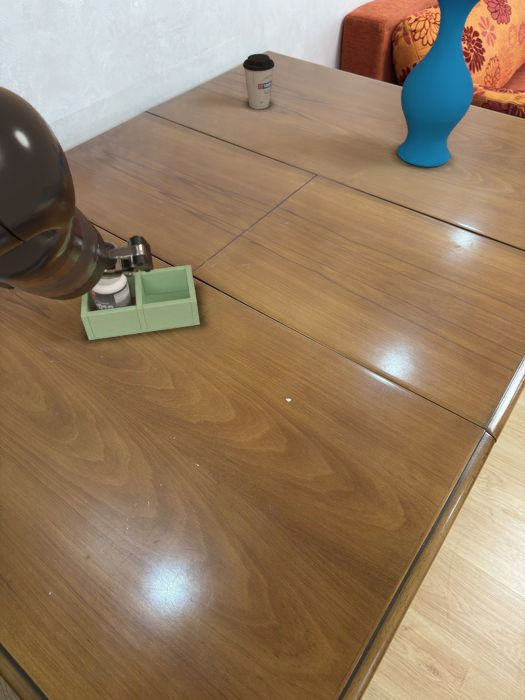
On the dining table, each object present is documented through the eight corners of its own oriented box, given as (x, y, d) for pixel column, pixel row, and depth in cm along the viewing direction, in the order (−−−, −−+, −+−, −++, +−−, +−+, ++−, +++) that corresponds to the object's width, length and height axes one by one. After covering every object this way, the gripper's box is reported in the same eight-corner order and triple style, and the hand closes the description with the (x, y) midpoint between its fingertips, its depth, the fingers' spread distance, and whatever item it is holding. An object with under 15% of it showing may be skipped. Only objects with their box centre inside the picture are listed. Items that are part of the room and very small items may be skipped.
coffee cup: (237, 104, 123) (235, 57, 116) (260, 95, 126) (259, 49, 119) (258, 113, 120) (257, 66, 112) (280, 104, 123) (281, 57, 115)
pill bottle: (93, 317, 74) (77, 269, 68) (117, 298, 77) (104, 251, 71) (117, 330, 72) (103, 283, 66) (141, 310, 75) (130, 263, 69)
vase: (445, 178, 100) (490, 4, 79) (381, 162, 104) (408, -6, 84) (463, 150, 107) (508, -15, 86) (402, 137, 111) (432, -24, 91)
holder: (89, 340, 72) (80, 316, 69) (90, 301, 77) (82, 278, 74) (199, 324, 74) (196, 300, 71) (193, 288, 79) (190, 264, 76)
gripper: (134, 189, 42) (150, 229, 58) (-58, 209, 40) (13, 245, 56) (148, 284, 42) (160, 298, 58) (-42, 308, 40) (24, 316, 56)
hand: (88, 272), depth 57 cm, fingers open, 8 cm apart
